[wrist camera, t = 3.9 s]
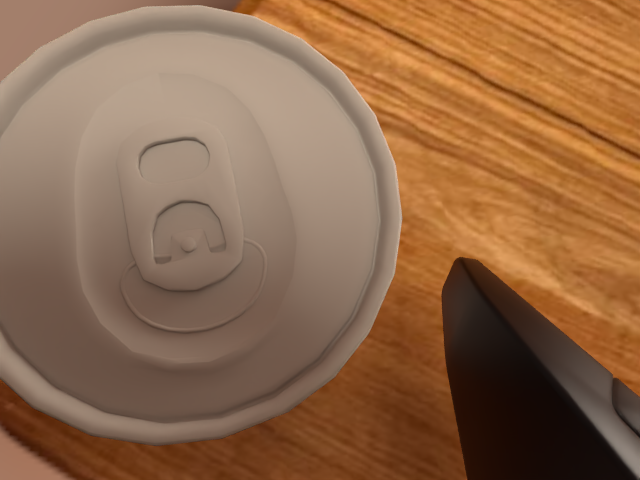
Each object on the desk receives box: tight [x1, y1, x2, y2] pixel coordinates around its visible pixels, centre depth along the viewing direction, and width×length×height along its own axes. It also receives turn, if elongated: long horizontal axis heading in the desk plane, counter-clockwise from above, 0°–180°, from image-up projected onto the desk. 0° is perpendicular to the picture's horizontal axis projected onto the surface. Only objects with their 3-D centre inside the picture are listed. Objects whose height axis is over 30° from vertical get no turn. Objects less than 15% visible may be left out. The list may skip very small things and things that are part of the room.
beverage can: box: [0, 5, 402, 446], centre depth 10 cm, size 5×5×12 cm
